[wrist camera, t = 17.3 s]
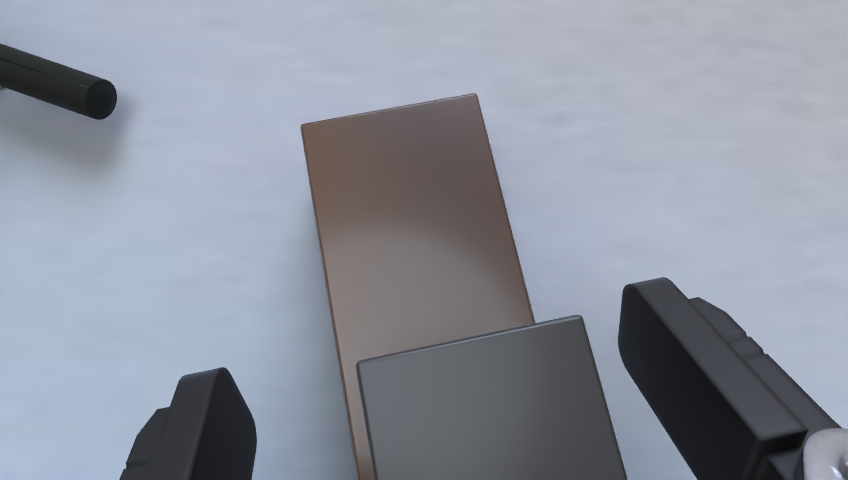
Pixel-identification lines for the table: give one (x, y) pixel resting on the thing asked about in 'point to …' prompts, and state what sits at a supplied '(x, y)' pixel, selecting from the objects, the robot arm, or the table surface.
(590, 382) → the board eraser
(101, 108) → the handheld radio
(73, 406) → the table surface
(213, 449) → the robot arm
